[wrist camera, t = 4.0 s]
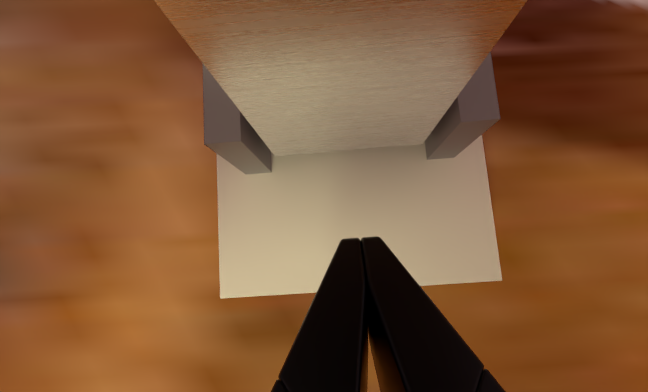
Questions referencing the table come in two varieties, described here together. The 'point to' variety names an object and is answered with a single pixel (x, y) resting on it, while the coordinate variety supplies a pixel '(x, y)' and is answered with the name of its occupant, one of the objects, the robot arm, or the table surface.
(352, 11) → the lever
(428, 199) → the block
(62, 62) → the table surface
